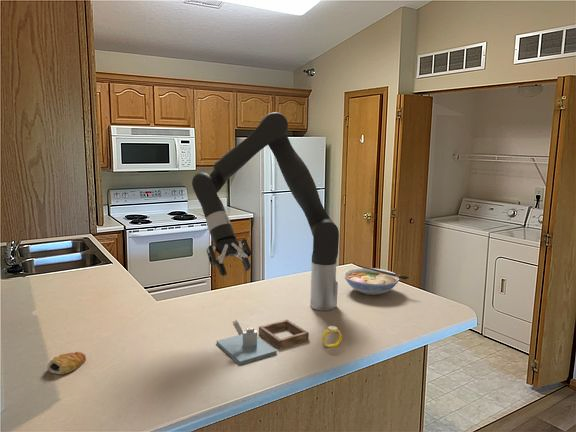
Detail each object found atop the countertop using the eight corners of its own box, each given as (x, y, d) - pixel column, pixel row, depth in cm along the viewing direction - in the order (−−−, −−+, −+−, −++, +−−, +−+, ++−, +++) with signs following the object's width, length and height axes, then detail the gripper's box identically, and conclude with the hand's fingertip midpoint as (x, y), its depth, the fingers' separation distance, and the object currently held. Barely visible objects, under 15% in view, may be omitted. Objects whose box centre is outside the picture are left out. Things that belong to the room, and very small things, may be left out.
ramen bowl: (329, 290, 183) (330, 271, 182) (363, 279, 198) (364, 262, 197) (378, 307, 165) (379, 286, 163) (412, 294, 180) (413, 275, 179)
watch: (338, 343, 135) (340, 325, 134) (342, 347, 132) (344, 329, 131) (320, 344, 133) (322, 326, 132) (323, 348, 130) (325, 329, 130)
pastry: (74, 356, 124) (74, 344, 123) (92, 361, 121) (92, 349, 120) (45, 372, 115) (44, 358, 114) (63, 378, 112) (62, 364, 112)
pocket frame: (287, 326, 146) (287, 319, 146) (308, 339, 136) (308, 332, 136) (258, 333, 140) (258, 326, 140) (279, 348, 130) (279, 340, 130)
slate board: (251, 334, 139) (251, 331, 139) (276, 353, 127) (276, 350, 127) (216, 343, 132) (216, 340, 132) (239, 364, 120) (239, 361, 120)
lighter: (256, 343, 131) (256, 318, 130) (257, 345, 130) (257, 320, 128) (232, 345, 129) (232, 319, 128) (233, 348, 128) (233, 322, 127)
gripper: (204, 226, 138) (221, 273, 133) (243, 219, 146) (260, 264, 141) (196, 236, 143) (212, 281, 138) (234, 229, 152) (250, 272, 147)
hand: (236, 272), depth 140 cm, fingers open, 8 cm apart
